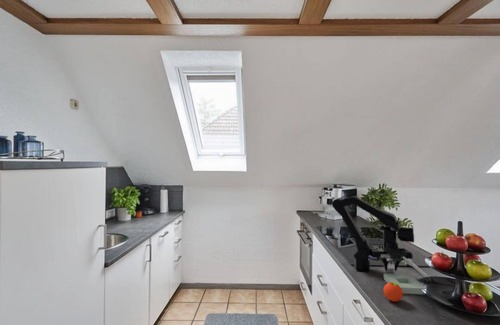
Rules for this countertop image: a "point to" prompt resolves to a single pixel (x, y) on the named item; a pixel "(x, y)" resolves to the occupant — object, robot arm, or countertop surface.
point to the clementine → (393, 291)
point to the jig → (405, 283)
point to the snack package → (372, 257)
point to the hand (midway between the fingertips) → (390, 270)
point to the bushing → (390, 266)
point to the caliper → (410, 262)
